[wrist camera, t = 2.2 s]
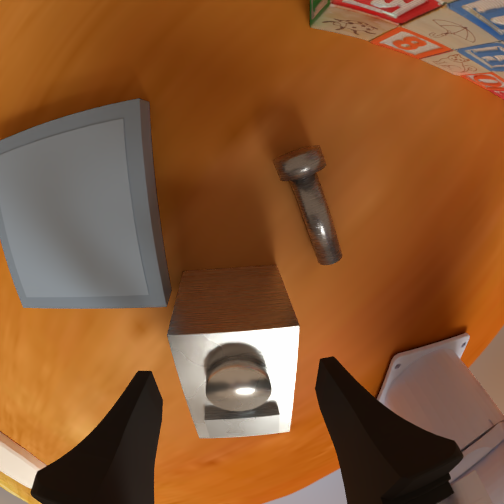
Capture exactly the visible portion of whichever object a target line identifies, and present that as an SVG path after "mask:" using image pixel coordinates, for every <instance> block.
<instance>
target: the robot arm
mask: <svg viewBox="0 0 504 504" xmlns="http://www.w3.org/2000/svg"><path fill="white" fill-rule="evenodd" d="M469 338H470V336H469V334H468V333H464V334H461V335H458V336H455V337H452V338H449V339H446V340H443V341H440V342H437V343H433V344H430V345H427V346H423V347H420V348H416V349H413V350H409V351H405V352H402V353H398V354H396V355H395V356H394V357H393V358H392V360H391V363H390V366H389V369H388V372H387V374H386V377H385V380H384V382H383V385H382V387H381V390H380V392H379V395H378V397H377V399H376V398H375V397H374V396H372V395H371V394H370V393H369V392H368V391H367V390H366V389H365V388H364V387H363V386H361V385H360V384H359V383H358V382H357V381H356V380H355V379H354V378H353V377H352V376H351V375H350V373H349V372H348V371H347V370H346V369H345V368H344V367H343V366H342V365H341V364H340V363H339V362H338V360H337V359H336V358H335V357H328V358H322V359H320V362H319V369H318V375H317V381H316V387H315V390H316V394H317V399H318V403H319V407H320V410H321V413H322V415H323V418H324V421H325V423H326V426H327V428H328V431H329V434H330V436H331V439H332V441H333V444H334V447H335V450H336V453H337V456H338V460H339V464H340V469H341V473H342V478H343V482H344V487H345V492H346V498H347V504H504V415H503V414H502V412H501V411H500V410H499V408H498V407H497V405H496V404H495V403H494V401H493V400H492V399H491V397H490V396H489V395H488V393H487V392H486V391H485V389H484V388H483V387H482V386H481V384H480V383H479V382H478V380H477V379H476V378H475V377H474V375H473V374H472V373H471V372H470V370H469V369H468V368H467V367H466V365H465V364H464V363H463V362H462V360H461V359H460V358H461V356H462V354H463V351H464V349H465V347H466V345H467V343H468V340H469ZM162 406H163V399H162V397H161V394H160V392H159V389H158V387H157V384H156V382H155V379H154V377H153V374H152V371H138V372H137V373H136V375H135V376H134V377H133V379H132V380H131V382H130V383H129V385H128V386H127V388H126V389H125V391H124V392H123V394H122V395H121V396H120V398H119V399H118V401H117V402H116V403H115V405H114V406H113V407H112V409H111V410H110V411H109V412H108V414H107V415H106V416H105V417H104V419H103V420H102V421H101V422H100V423H99V424H98V426H97V427H96V428H95V429H94V430H93V431H92V432H91V433H90V434H89V435H88V436H87V437H86V438H85V439H84V440H82V441H81V442H80V443H79V444H78V445H77V446H76V447H74V448H73V449H72V450H71V451H69V452H68V453H67V454H65V455H64V456H62V457H61V458H60V459H58V460H57V461H55V462H53V463H52V464H50V465H48V466H46V467H44V468H42V469H41V470H39V471H37V473H36V476H35V479H34V482H33V486H32V489H31V495H32V496H33V497H34V498H35V499H36V500H38V501H39V502H41V503H42V504H154V465H155V457H156V451H157V445H158V439H159V433H160V428H161V422H162Z"/></svg>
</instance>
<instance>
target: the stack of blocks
mask: <svg viewBox="0 0 504 504" xmlns="http://www.w3.org/2000/svg"><path fill="white" fill-rule="evenodd" d="M310 27H311V28H315V29H320V30H326V31H331V32H335V33H340V34H344V35H348V36H352V37H356V38H360V39H364V40H367V41H369V42H371V43H373V44H376V45H380V46H383V47H386V48H389V49H392V50H395V51H398V52H401V53H404V54H407V55H409V56H412V57H414V58H418V59H420V60H422V61H425V62H427V63H429V64H431V65H434V66H436V67H438V68H441V69H443V70H445V71H447V72H450V73H452V74H454V75H457V76H458V75H460V76H461V77H463V78H465V79H467V80H470V81H471V82H473V83H475V84H477V85H479V86H480V87H482V88H484V89H486V90H489V91H491V92H492V93H494V94H495V95H497V96H499V97H500V98H502V99H503V100H504V0H310Z"/></svg>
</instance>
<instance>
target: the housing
mask: <svg viewBox="0 0 504 504" xmlns="http://www.w3.org/2000/svg"><path fill="white" fill-rule="evenodd" d="M167 336H168V340H169V344H170V348H171V351H172V355H173V358H174V362H175V365H176V369H177V372H178V376H179V379H180V382H181V385H182V389H183V392H184V395H185V398H186V401H187V404H188V407H189V410H190V413H191V416H192V419H193V422H194V424H195V427H196V430H197V433H198V435H199V438H226V437H243V436H255V435H265V434H274V433H282V432H289V431H290V424H291V415H292V406H293V397H294V387H295V376H296V365H297V353H298V340H299V323H298V320H297V318H296V315H295V312H294V310H293V307H292V304H291V302H290V299H289V296H288V294H287V291H286V288H285V286H284V283H283V281H282V278H281V275H280V273H279V270H278V267H277V265H263V266H250V267H235V268H221V269H206V270H191V271H183V275H182V278H181V282H180V286H179V290H178V293H177V297H176V301H175V305H174V309H173V313H172V317H171V321H170V325H169V330H168V334H167Z"/></svg>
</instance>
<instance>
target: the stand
mask: <svg viewBox="0 0 504 504" xmlns="http://www.w3.org/2000/svg"><path fill="white" fill-rule="evenodd" d="M0 240H1V243H2V247H3V251H4V254H5V257H6V261H7V264H8V267H9V270H10V273H11V276H12V279H13V282H14V285H15V287H16V290H17V293H18V295H19V298H20V300H21V303H22V305H23V308H80V309H84V308H144V307H167V304H168V301H169V297H170V294H171V291H172V290H171V284H170V279H169V273H168V268H167V262H166V256H165V250H164V244H163V237H162V230H161V223H160V216H159V208H158V200H157V192H156V183H155V174H154V163H153V152H152V139H151V124H150V105H149V102H147V101H145V100H142V99H140V98H139V99H134V100H128V101H123V102H119V103H114V104H110V105H105V106H101V107H97V108H93V109H89V110H86V111H82V112H78V113H75V114H72V115H68V116H65V117H62V118H59V119H55V120H52V121H49V122H46V123H44V124H41V125H38V126H35V127H32V128H30V129H27V130H25V131H22V132H19V133H17V134H15V135H12V136H10V137H7V138H5V139H3V140H1V141H0Z"/></svg>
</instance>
